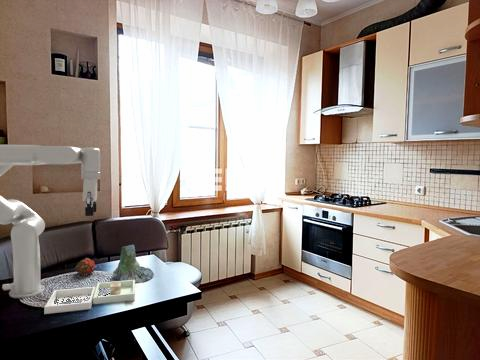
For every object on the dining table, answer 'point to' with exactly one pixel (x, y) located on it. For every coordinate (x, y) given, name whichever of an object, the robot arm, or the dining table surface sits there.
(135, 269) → the tree stump
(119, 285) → the birch block
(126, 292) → the sage bin
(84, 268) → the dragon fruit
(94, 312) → the dining table surface
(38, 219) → the robot arm
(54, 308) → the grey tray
